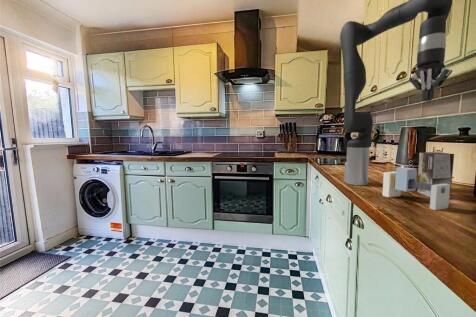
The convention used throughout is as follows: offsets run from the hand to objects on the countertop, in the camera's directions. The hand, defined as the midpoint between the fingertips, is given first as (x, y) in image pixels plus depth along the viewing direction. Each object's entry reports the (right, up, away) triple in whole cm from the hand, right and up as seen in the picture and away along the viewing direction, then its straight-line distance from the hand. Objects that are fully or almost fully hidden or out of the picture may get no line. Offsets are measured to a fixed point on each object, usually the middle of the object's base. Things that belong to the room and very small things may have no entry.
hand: (427, 100), depth 80 cm
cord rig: (-8, -36, -3) cm, 37 cm away
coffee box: (+6, -35, +4) cm, 36 cm away
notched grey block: (-9, -32, -1) cm, 33 cm away
